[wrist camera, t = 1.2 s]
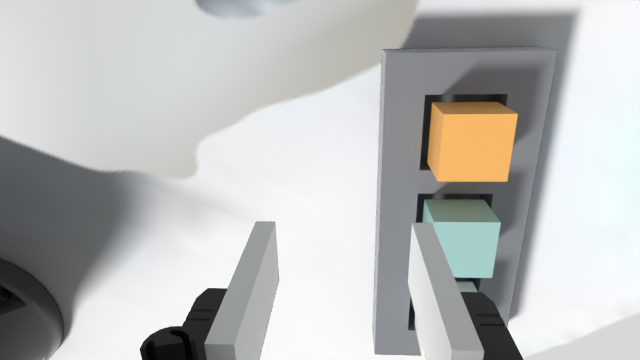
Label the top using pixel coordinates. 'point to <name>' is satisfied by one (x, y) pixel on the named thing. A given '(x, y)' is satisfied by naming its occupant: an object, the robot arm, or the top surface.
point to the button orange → (471, 141)
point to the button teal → (465, 234)
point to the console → (420, 183)
